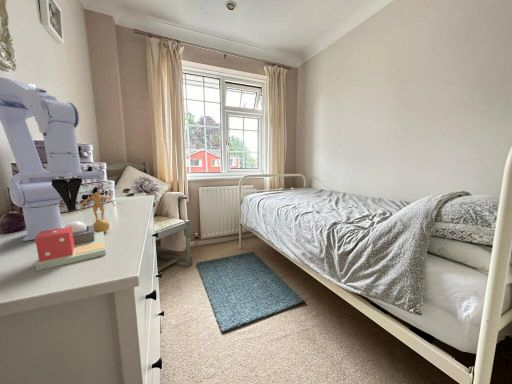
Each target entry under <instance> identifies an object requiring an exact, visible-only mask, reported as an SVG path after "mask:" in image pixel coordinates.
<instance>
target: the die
mask: <svg viewBox="0 0 512 384" xmlns="http://www.w3.org/2000/svg"><path fill="white" fill-rule="evenodd" d="M34 240H35V245H36V251H37V255H38V256H37V257H38V260H39V262H42V261H47V260H52V259H56V258H61V257H65V256H70V255H73V252H74V248H75V245H74V239H73V233H72V227H66V228H59V229H53V230H47V231H40V233H39V234H38V235H37V236H36V238H35V239H34Z"/></svg>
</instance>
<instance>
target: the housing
mask: <svg viewBox="0 0 512 384" xmlns="http://www.w3.org/2000/svg"><path fill="white" fill-rule="evenodd" d="M86 227H87V232H84V233H78V234H73V239H74V245H77V244H82V243H87V242H92V241H95V233H96V232H95V231H94V225H93V224H91V225H86Z"/></svg>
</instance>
